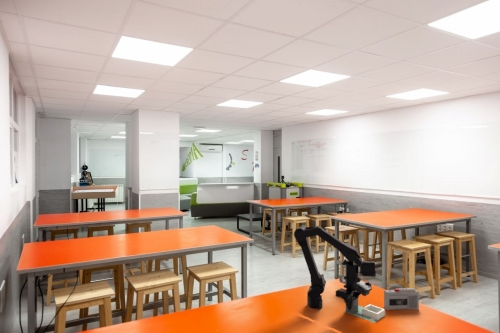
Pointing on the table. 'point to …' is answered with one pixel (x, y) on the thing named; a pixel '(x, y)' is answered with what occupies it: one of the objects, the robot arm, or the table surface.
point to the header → (373, 311)
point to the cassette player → (401, 299)
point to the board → (364, 315)
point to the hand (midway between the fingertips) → (351, 308)
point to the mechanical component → (342, 279)
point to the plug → (353, 306)
